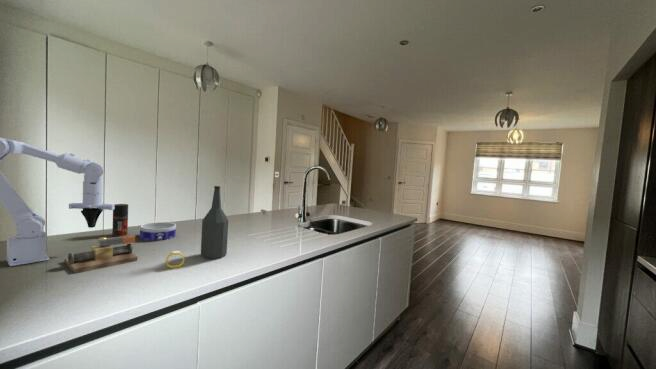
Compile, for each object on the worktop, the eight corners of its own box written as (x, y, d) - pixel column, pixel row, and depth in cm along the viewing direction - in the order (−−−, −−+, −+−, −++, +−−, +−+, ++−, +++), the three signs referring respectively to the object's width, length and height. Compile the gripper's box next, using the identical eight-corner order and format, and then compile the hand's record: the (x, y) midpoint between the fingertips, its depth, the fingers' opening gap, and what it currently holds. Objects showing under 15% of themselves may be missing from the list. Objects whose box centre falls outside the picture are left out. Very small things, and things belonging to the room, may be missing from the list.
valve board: (74, 273, 90) (75, 257, 90) (64, 262, 99) (64, 247, 98) (137, 260, 105) (137, 246, 105) (123, 251, 113) (124, 238, 113)
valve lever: (98, 247, 100) (98, 239, 99) (97, 245, 101) (97, 237, 101) (135, 242, 108) (135, 235, 108) (133, 240, 110) (133, 233, 110)
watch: (183, 265, 105) (185, 250, 105) (183, 268, 102) (185, 252, 102) (165, 266, 102) (167, 250, 101) (165, 269, 99) (167, 253, 99)
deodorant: (114, 237, 130) (115, 206, 129) (110, 234, 134) (111, 204, 133) (129, 235, 135) (130, 205, 134) (125, 232, 139) (125, 203, 138)
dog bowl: (172, 232, 147) (172, 221, 147) (178, 239, 136) (179, 227, 135) (138, 234, 138) (138, 223, 137) (141, 243, 126) (142, 230, 126)
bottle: (216, 261, 111) (220, 187, 109) (195, 257, 113) (199, 185, 111) (230, 253, 121) (234, 186, 119) (211, 250, 123) (214, 184, 121)
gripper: (63, 193, 102) (62, 229, 103) (108, 195, 106) (107, 229, 106) (75, 191, 109) (75, 224, 110) (117, 193, 112) (116, 225, 113)
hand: (91, 227), depth 109 cm, fingers closed
